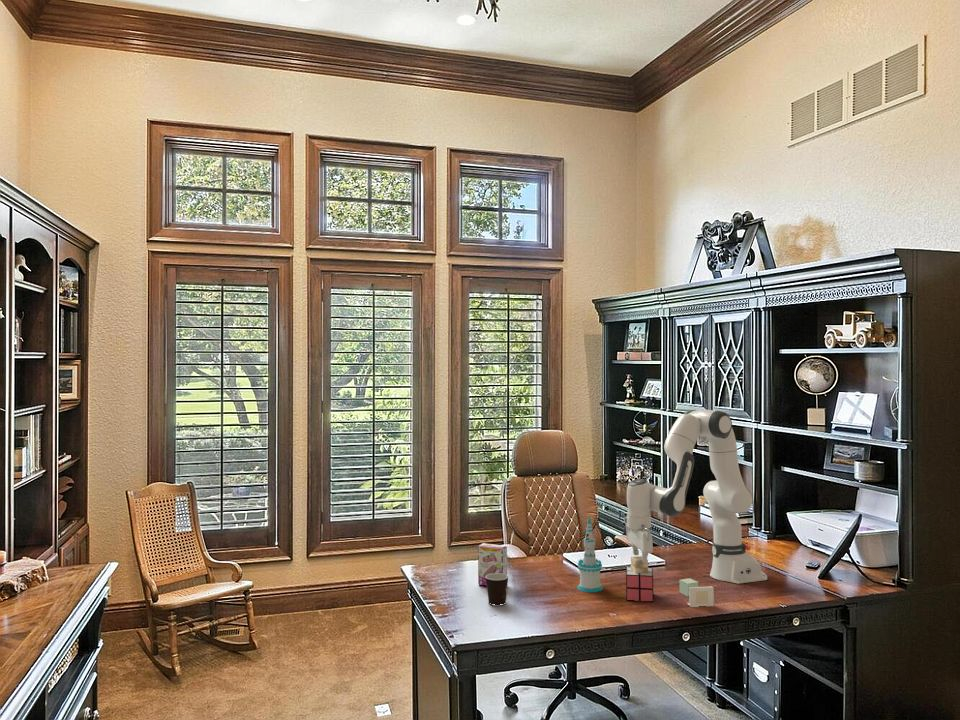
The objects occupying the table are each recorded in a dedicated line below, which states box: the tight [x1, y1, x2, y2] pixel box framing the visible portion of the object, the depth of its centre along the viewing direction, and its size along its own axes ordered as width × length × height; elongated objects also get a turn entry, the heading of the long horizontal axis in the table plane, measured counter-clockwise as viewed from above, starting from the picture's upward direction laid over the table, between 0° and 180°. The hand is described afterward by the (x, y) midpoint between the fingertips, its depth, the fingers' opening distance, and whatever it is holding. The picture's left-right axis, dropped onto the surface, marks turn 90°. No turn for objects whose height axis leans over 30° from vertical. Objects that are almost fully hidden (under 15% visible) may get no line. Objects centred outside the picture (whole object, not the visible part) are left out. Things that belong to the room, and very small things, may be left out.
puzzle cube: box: [625, 566, 654, 602], centre depth 272 cm, size 10×10×10 cm
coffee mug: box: [486, 573, 509, 605], centre depth 269 cm, size 12×9×10 cm
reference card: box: [686, 585, 715, 608], centre depth 262 cm, size 9×3×7 cm, turn 96°
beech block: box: [630, 555, 649, 574], centre depth 272 cm, size 5×5×5 cm
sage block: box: [678, 578, 699, 597], centre depth 275 cm, size 5×5×5 cm
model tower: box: [577, 513, 604, 593], centre depth 283 cm, size 10×10×30 cm
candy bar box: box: [477, 542, 508, 587], centre depth 288 cm, size 11×5×16 cm, turn 65°
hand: (640, 558), depth 272 cm, fingers open, 8 cm apart
